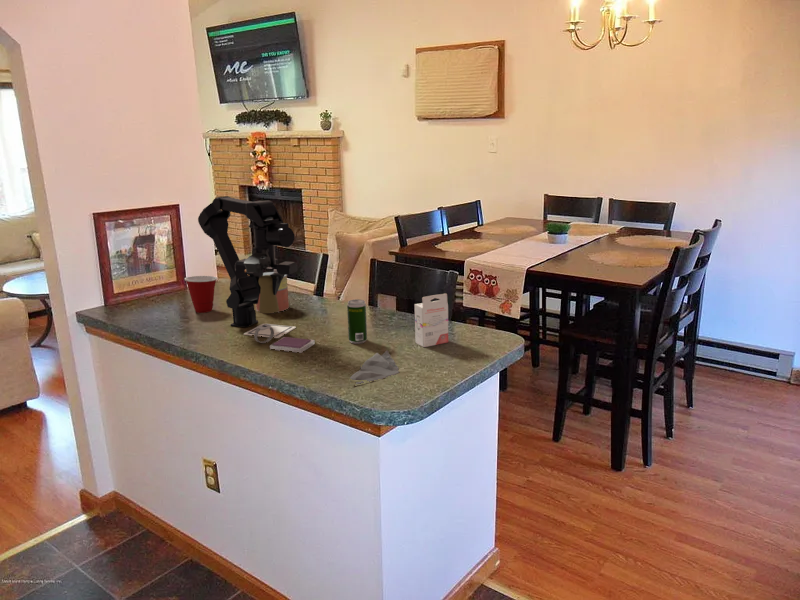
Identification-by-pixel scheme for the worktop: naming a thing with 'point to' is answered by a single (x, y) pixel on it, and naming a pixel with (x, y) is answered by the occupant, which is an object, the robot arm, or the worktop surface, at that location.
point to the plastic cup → (201, 292)
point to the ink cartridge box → (431, 321)
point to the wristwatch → (263, 329)
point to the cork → (267, 295)
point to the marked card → (278, 331)
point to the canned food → (279, 294)
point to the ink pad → (292, 344)
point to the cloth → (376, 368)
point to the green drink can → (357, 321)
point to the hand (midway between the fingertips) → (267, 294)
